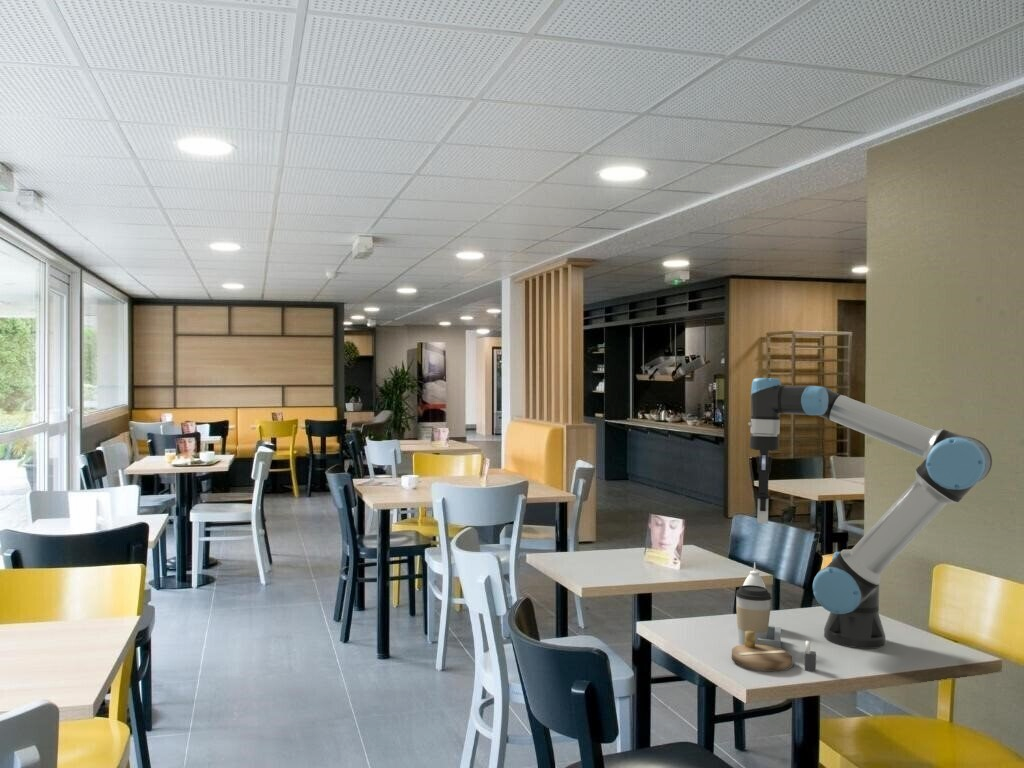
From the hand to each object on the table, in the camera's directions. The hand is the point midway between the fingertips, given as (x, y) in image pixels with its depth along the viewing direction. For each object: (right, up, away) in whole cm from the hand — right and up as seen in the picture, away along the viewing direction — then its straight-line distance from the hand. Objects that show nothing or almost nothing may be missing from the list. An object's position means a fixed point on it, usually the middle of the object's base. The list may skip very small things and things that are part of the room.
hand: (762, 522), depth 225 cm
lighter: (+3, -30, -27) cm, 41 cm away
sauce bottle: (0, -31, +9) cm, 32 cm away
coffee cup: (-5, -30, -8) cm, 32 cm away
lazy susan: (-7, -30, -23) cm, 39 cm away
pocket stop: (-1, -30, -10) cm, 32 cm away
